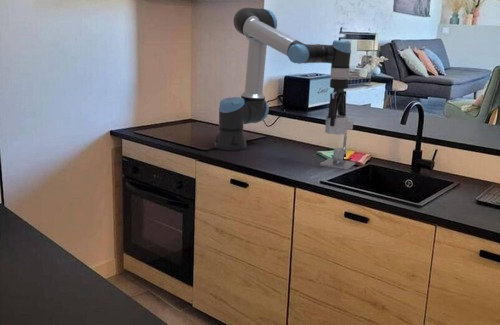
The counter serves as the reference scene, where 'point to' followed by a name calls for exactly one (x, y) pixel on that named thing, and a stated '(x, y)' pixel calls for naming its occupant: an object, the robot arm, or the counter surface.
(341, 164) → the square plate with knob
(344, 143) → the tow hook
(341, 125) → the grey piece
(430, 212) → the counter surface
